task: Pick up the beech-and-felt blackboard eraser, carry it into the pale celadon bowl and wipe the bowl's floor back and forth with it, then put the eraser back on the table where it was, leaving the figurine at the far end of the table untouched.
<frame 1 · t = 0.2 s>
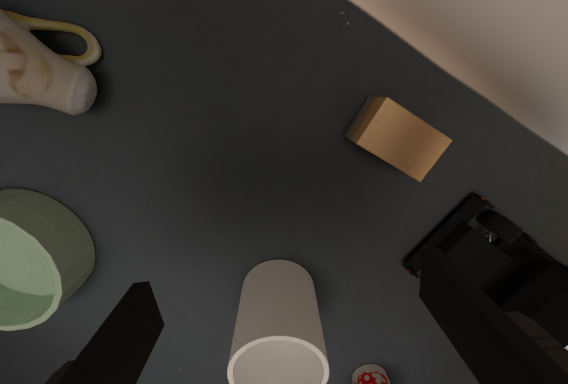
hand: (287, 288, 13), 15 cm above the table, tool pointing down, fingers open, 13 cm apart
mug: (51, 66, 23), on the table
beverage cup: (368, 375, 37), on the table
toy truck: (492, 271, 31), on the table
eraser: (383, 133, 26), on the table
bowl: (32, 245, 29), on the table
cup: (272, 301, 32), on the table
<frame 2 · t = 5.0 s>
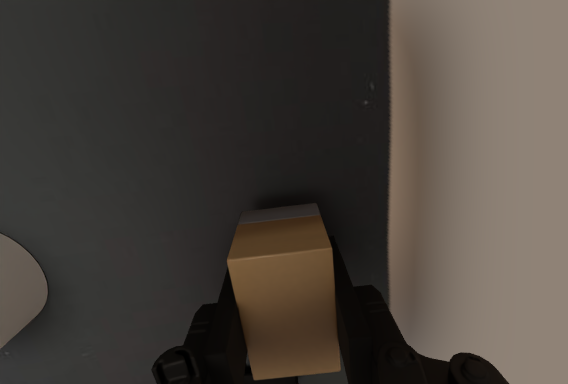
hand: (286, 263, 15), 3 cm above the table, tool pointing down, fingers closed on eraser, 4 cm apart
eraser: (285, 259, 16), point 3 cm above the table, touching gripper
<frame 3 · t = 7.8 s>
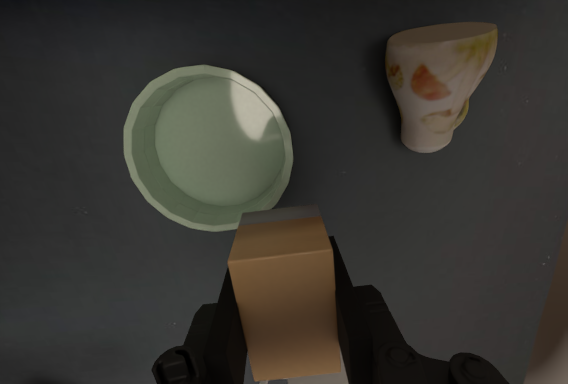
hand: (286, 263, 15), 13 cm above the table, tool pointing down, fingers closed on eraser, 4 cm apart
mug: (417, 91, 25), on the table
eraser: (286, 260, 16), point 13 cm above the table, touching gripper
bowl: (221, 145, 26), on the table
cup: (304, 342, 35), on the table
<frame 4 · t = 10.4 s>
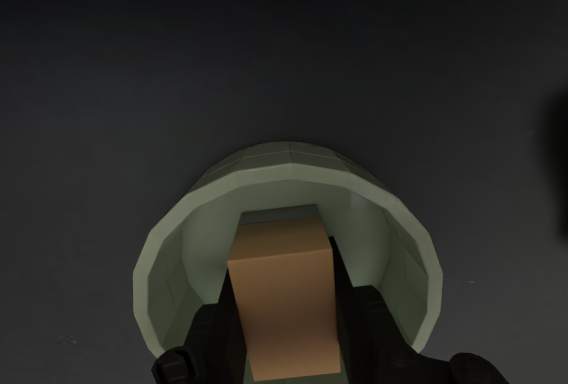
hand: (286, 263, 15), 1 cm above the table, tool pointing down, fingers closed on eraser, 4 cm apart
eraser: (286, 259, 16), point 1 cm above the table, touching bowl, gripper
bowl: (285, 249, 16), on the table
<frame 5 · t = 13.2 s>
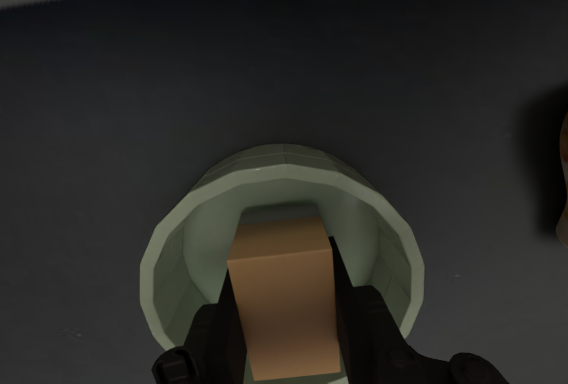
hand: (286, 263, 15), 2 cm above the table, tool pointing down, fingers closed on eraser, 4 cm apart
eraser: (286, 259, 16), point 2 cm above the table, touching gripper
bowl: (281, 245, 17), on the table
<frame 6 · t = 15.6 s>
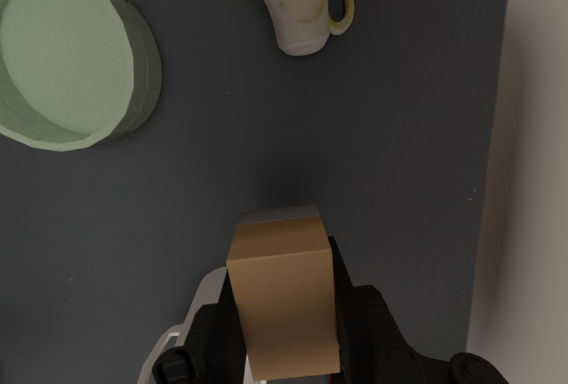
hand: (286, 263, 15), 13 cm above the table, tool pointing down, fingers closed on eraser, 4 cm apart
eraser: (285, 259, 16), point 12 cm above the table, touching gripper
bowl: (84, 62, 23), on the table
cup: (218, 299, 32), on the table
when the fingers open (0 cm above the table, at t = 19.9 s): eraser stays where it is, on the table.
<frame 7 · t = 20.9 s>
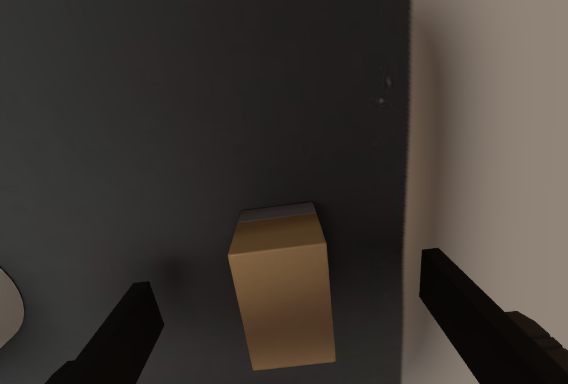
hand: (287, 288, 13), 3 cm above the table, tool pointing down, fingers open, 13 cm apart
eraser: (283, 256, 16), on the table
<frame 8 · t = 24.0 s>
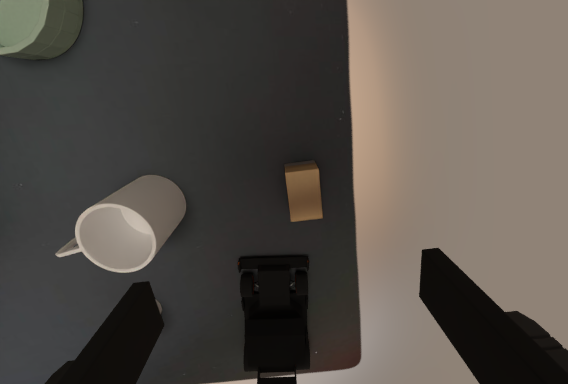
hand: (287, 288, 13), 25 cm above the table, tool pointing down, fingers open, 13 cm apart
toy truck: (275, 306, 45), on the table
eraser: (301, 184, 38), on the table
cup: (144, 206, 38), on the table
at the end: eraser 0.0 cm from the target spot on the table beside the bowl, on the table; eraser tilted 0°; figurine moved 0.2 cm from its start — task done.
